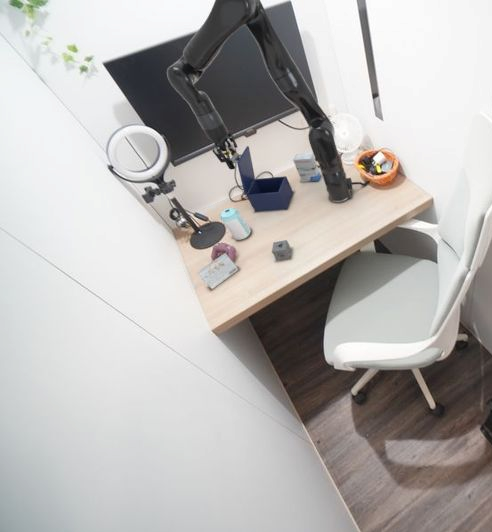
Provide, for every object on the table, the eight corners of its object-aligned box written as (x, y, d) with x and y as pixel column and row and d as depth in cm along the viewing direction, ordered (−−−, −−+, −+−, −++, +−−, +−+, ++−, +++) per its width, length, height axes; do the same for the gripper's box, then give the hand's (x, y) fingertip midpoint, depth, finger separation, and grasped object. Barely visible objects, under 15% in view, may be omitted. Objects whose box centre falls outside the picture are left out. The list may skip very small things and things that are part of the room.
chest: (293, 192, 147) (286, 176, 141) (287, 209, 139) (279, 192, 133) (263, 195, 148) (254, 179, 142) (255, 212, 141) (246, 195, 134)
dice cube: (290, 258, 120) (285, 249, 116) (277, 260, 120) (271, 251, 116) (291, 249, 123) (286, 239, 119) (278, 251, 123) (273, 242, 119)
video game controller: (240, 260, 124) (237, 244, 121) (230, 265, 120) (227, 247, 117) (220, 256, 127) (217, 239, 124) (210, 260, 123) (206, 243, 120)
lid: (248, 146, 130) (236, 144, 129) (239, 162, 122) (225, 160, 121) (255, 178, 141) (243, 176, 141) (246, 195, 134) (234, 193, 133)
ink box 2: (321, 175, 154) (313, 153, 145) (318, 181, 151) (310, 159, 142) (304, 175, 155) (295, 153, 146) (301, 181, 152) (292, 159, 143)
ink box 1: (208, 286, 115) (192, 269, 107) (235, 267, 120) (222, 249, 112) (212, 290, 113) (196, 272, 106) (239, 270, 118) (225, 252, 111)
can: (230, 239, 130) (214, 217, 121) (241, 227, 134) (226, 205, 125) (244, 241, 128) (229, 219, 119) (254, 230, 133) (240, 207, 123)
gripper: (214, 132, 112) (238, 173, 125) (228, 113, 121) (249, 154, 134) (194, 134, 112) (220, 175, 125) (210, 116, 122) (232, 156, 135)
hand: (235, 164), depth 129 cm, fingers closed on lid, 5 cm apart
